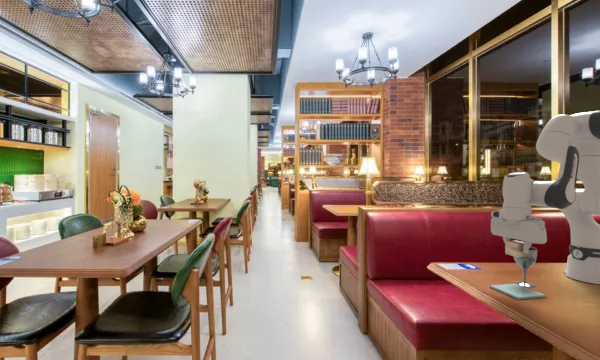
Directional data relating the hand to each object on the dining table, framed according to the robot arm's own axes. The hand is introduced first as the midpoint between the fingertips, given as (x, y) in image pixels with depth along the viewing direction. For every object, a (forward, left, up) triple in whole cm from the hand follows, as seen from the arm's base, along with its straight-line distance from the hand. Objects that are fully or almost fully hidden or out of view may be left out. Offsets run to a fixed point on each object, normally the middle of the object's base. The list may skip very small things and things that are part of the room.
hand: (516, 250), depth 110 cm
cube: (0, 0, -2) cm, 2 cm away
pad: (0, 0, -16) cm, 16 cm away
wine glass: (-11, -7, -16) cm, 20 cm away
